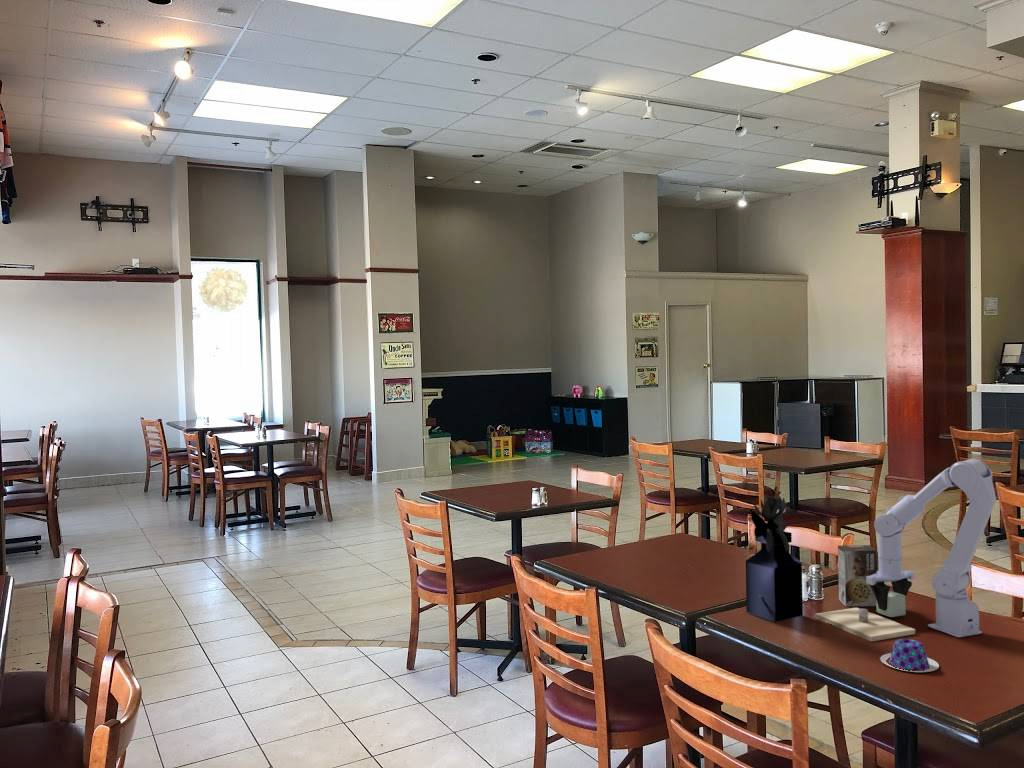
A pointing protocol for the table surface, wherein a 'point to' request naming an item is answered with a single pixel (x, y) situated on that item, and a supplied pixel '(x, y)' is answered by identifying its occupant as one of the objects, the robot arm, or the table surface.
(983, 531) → the robot arm
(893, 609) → the pale green cube
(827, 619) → the board
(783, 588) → the vase
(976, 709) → the table surface
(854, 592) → the coffee box
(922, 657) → the purple patterned hat
